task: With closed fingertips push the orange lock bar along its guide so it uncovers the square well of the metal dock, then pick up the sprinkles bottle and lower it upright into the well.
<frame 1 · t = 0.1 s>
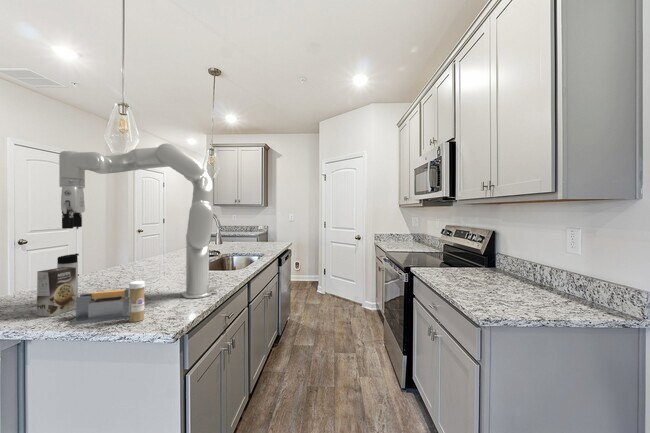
hand: (72, 227, 114), 31 cm above the countertop, fingers open, 9 cm apart
sprinkles bottle: (136, 320, 102), on the countertop
lock bar: (111, 293, 107), point 8 cm above the countertop, slide at 0.0 cm
travel mug: (68, 303, 118), on the countertop
coffee box: (57, 312, 108), on the countertop
dock: (109, 314, 107), on the countertop
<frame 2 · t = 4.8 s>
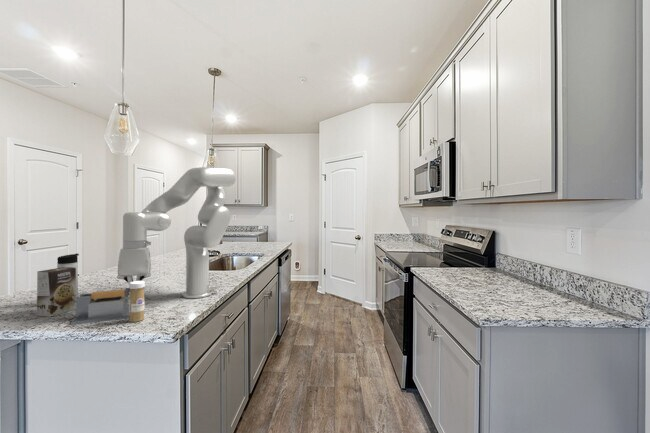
hand: (134, 293, 110), 7 cm above the countertop, fingers closed
lock bar: (110, 293, 107), point 8 cm above the countertop, slide at 0.1 cm, touching gripper
everything else where it was.
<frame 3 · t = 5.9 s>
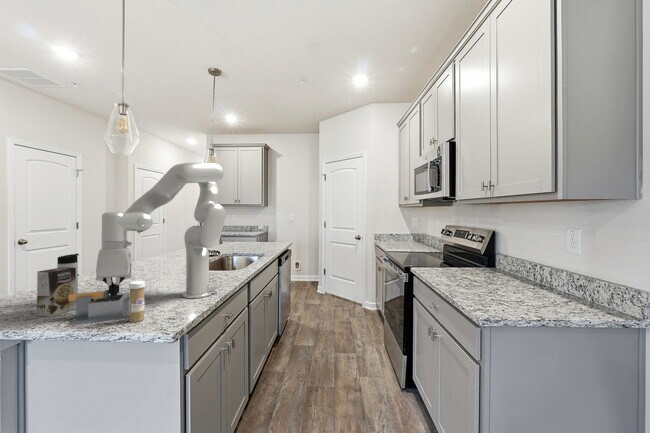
hand: (114, 295, 107), 7 cm above the countertop, fingers closed
lock bar: (89, 295, 104), point 8 cm above the countertop, slide at 6.4 cm, touching gripper
everything else where it was.
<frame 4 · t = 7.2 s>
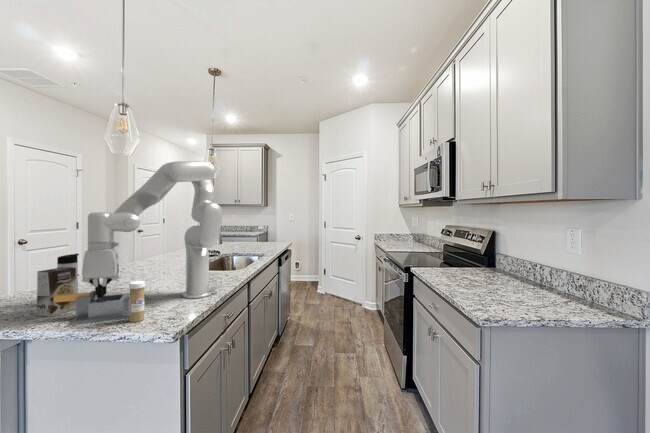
hand: (100, 296, 106), 7 cm above the countertop, fingers closed
lock bar: (74, 296, 103), point 8 cm above the countertop, slide at 10.4 cm
everything else where it was.
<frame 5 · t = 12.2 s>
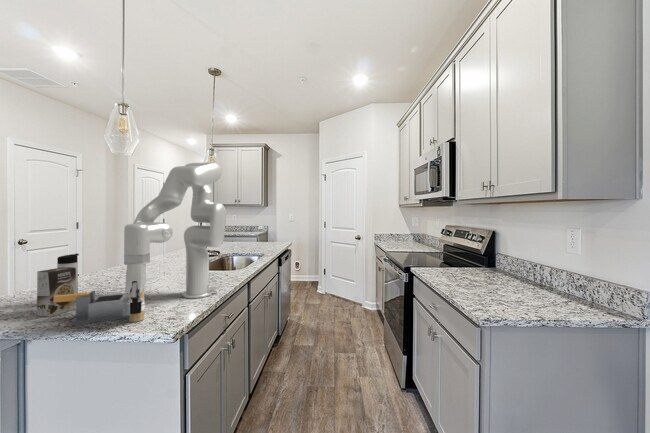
hand: (136, 310, 102), 3 cm above the countertop, fingers closed on sprinkles bottle, 4 cm apart
sprinkles bottle: (136, 320, 102), on the countertop, touching gripper
everything else where it was.
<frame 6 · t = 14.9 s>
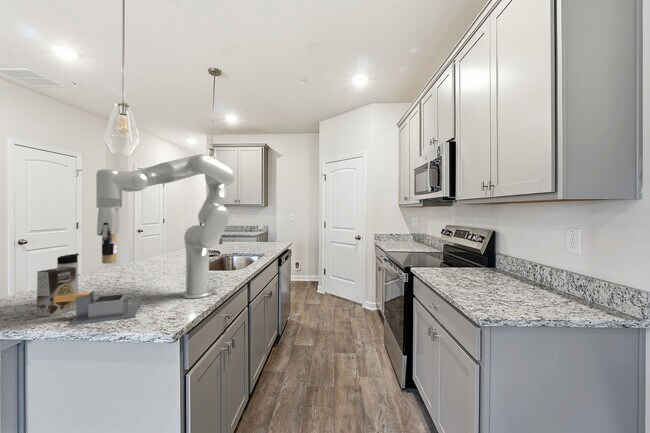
hand: (109, 253, 106), 22 cm above the countertop, fingers closed on sprinkles bottle, 4 cm apart
sprinkles bottle: (109, 263, 107), point 19 cm above the countertop, touching gripper
everything else where it was.
when the fingers open (6 cm above the countertop, at t = 18.1 s): sprinkles bottle drops 2 cm, resting on dock.
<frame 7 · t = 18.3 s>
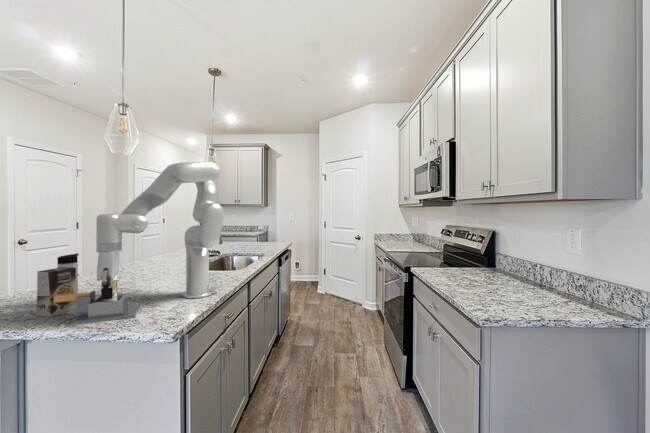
hand: (109, 295, 107), 7 cm above the countertop, fingers open, 6 cm apart
sprinkles bottle: (109, 311, 107), point 1 cm above the countertop, touching dock
everything else where it was.
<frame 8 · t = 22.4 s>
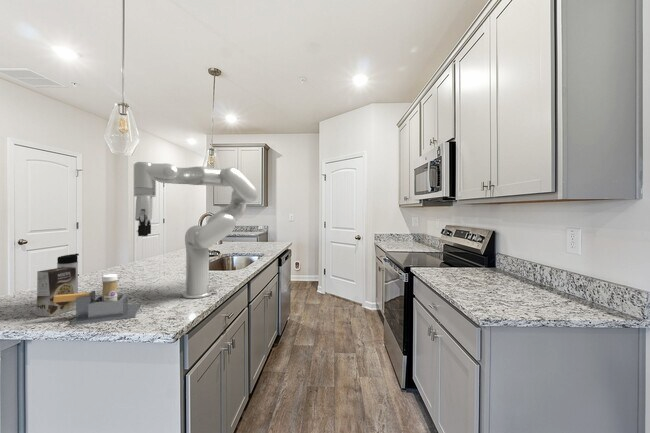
hand: (144, 234, 119), 28 cm above the countertop, fingers open, 9 cm apart
nothing on the countertop moved.
at the end: sprinkles bottle 0.3 cm off-centre on the dock, point 0.8 cm above the dock's base; sprinkles bottle tilted 1°; lock bar slide at 10.4 cm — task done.
